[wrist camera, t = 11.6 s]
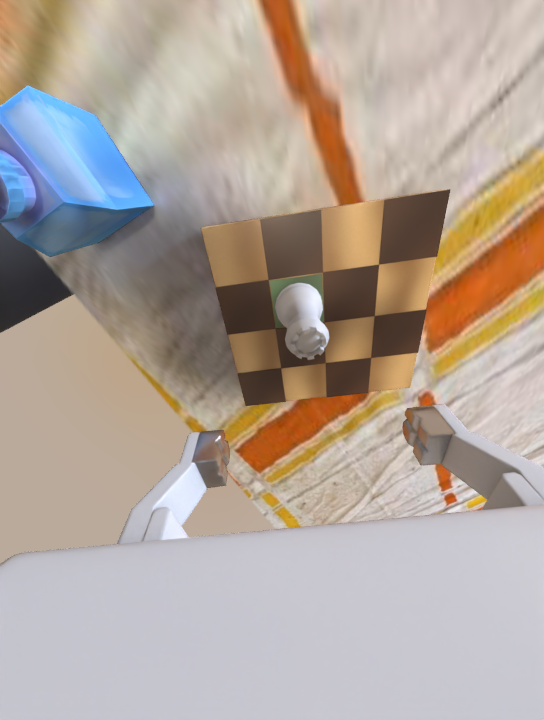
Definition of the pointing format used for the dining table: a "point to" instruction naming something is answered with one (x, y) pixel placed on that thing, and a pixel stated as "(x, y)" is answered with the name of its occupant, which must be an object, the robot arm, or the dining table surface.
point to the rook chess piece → (302, 320)
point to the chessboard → (329, 293)
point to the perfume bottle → (62, 176)
